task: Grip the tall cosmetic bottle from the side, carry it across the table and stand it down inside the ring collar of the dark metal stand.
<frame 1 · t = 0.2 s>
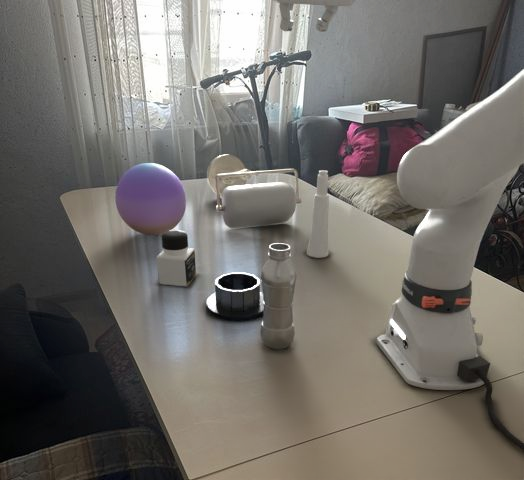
hand: (303, 30, 97), 52 cm above the table, tool tilted 20°, fingers open, 8 cm apart
medicine bottle: (178, 280, 125), on the table
stand: (238, 306, 114), on the table
ball: (154, 234, 153), on the table
cosmetic bottle: (317, 254, 140), on the table
plastic bottle: (277, 344, 100), on the table
lamp: (243, 211, 172), on the table
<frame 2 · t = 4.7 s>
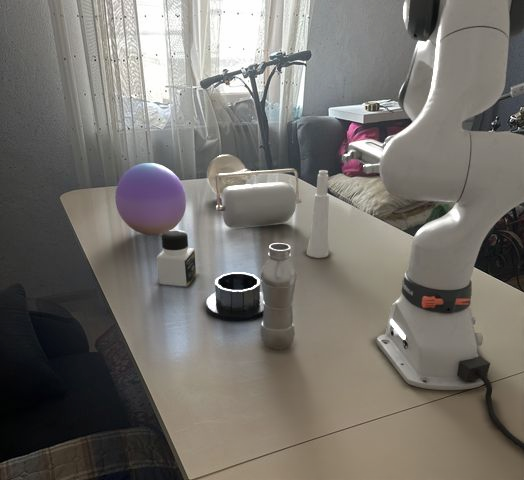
hand: (353, 164, 130), 23 cm above the table, tool horizontal, fingers open, 8 cm apart
nothing on the table moved.
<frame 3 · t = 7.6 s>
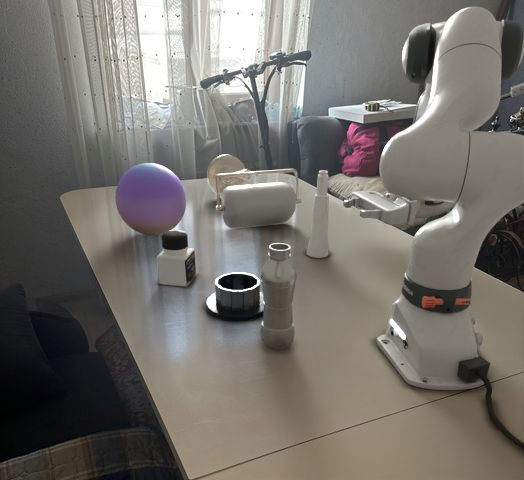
hand: (352, 209, 137), 12 cm above the table, tool horizontal, fingers open, 8 cm apart
nothing on the table moved.
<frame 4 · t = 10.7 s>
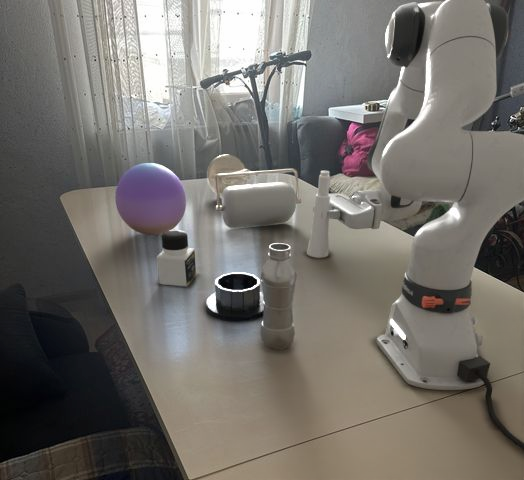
hand: (317, 212, 134), 12 cm above the table, tool horizontal, fingers closed on cosmetic bottle, 2 cm apart
cosmetic bottle: (317, 254, 140), on the table, touching gripper
everything else where it was.
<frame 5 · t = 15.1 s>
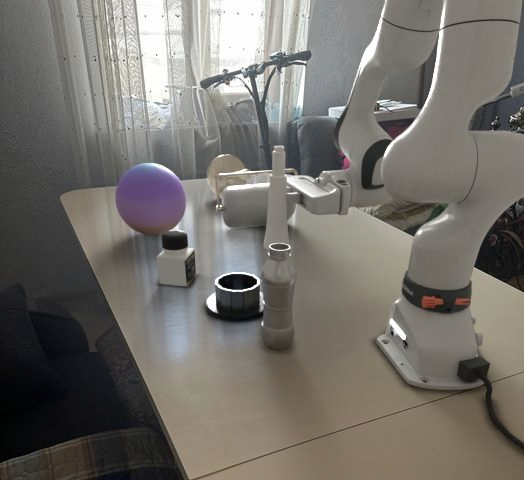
hand: (275, 196, 114), 21 cm above the table, tool horizontal, fingers closed on cosmetic bottle
cosmetic bottle: (276, 247, 119), point 9 cm above the table, touching gripper
everything else where it was.
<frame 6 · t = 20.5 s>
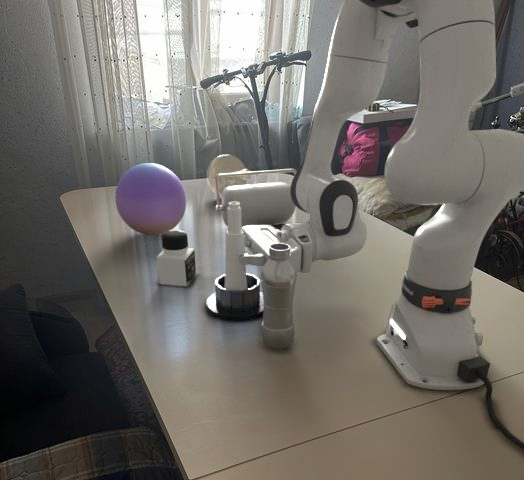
hand: (233, 251, 106), 13 cm above the table, tool horizontal, fingers open, 8 cm apart
cosmetic bottle: (236, 303, 112), point 1 cm above the table, touching stand
everything else where it was.
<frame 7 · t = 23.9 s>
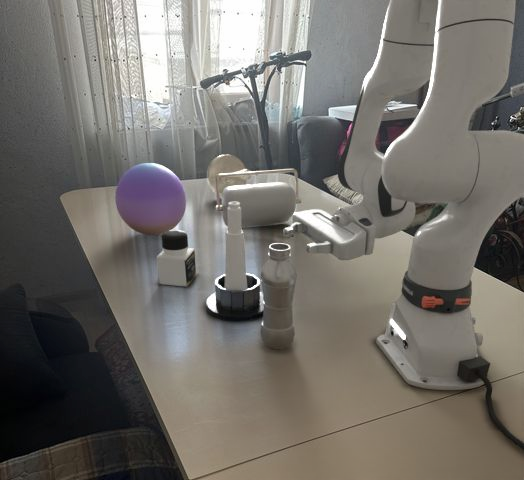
hand: (296, 241, 108), 14 cm above the table, tool horizontal, fingers open, 8 cm apart
nothing on the table moved.
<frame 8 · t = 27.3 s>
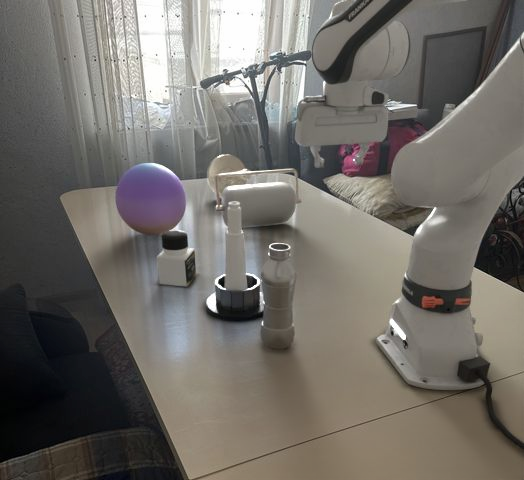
hand: (338, 165, 111), 27 cm above the table, tool pointing down, fingers open, 8 cm apart
nothing on the table moved.
at the end: cosmetic bottle 0.8 cm off-centre on the stand, point 1.0 cm above the stand's base; cosmetic bottle tilted 0°; the gripper is holding nothing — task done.
